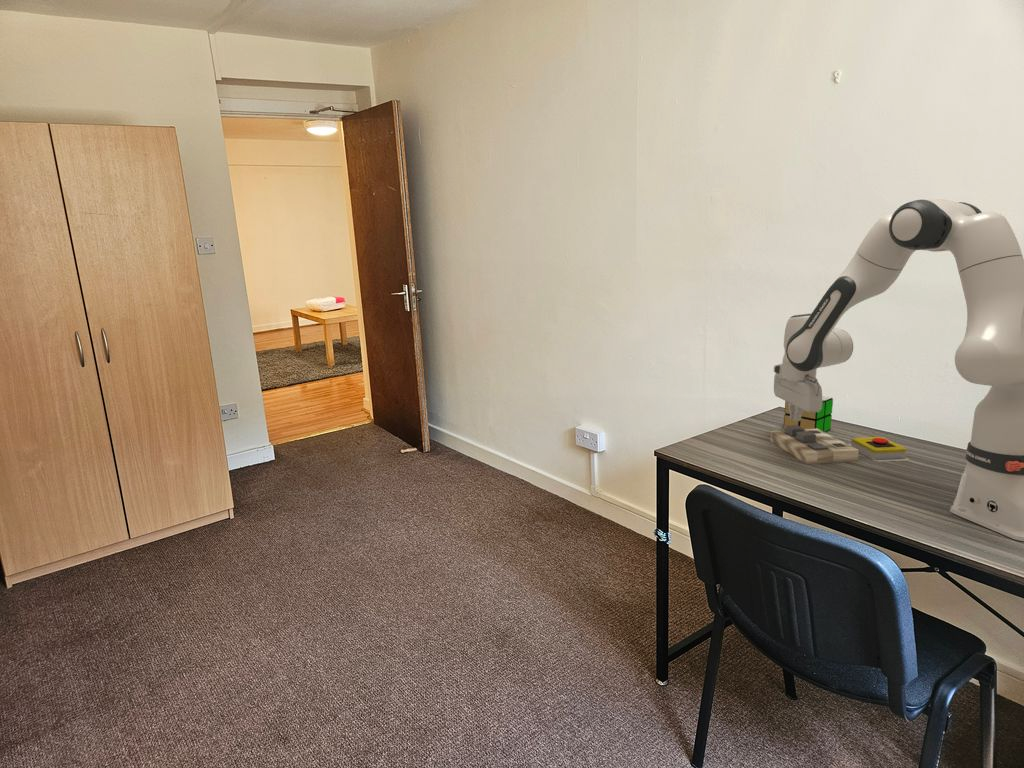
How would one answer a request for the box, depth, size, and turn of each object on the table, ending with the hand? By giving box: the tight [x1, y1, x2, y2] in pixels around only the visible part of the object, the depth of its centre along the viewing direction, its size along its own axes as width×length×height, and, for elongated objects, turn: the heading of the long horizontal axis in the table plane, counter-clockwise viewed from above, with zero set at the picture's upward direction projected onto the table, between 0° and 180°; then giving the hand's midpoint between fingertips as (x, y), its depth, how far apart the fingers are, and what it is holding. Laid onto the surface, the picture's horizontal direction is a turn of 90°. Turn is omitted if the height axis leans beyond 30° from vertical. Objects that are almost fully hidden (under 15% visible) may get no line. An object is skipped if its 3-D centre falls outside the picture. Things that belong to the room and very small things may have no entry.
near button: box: [807, 443, 828, 450], centre depth 177 cm, size 4×4×3 cm
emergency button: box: [848, 436, 910, 463], centre depth 181 cm, size 9×4×15 cm
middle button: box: [796, 431, 816, 443], centre depth 183 cm, size 4×4×3 cm
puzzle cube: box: [783, 395, 834, 433], centre depth 202 cm, size 10×10×10 cm
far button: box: [785, 425, 804, 437], centre depth 189 cm, size 4×4×3 cm
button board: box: [770, 429, 860, 465], centre depth 183 cm, size 20×14×3 cm
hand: (795, 419), depth 188 cm, fingers closed
